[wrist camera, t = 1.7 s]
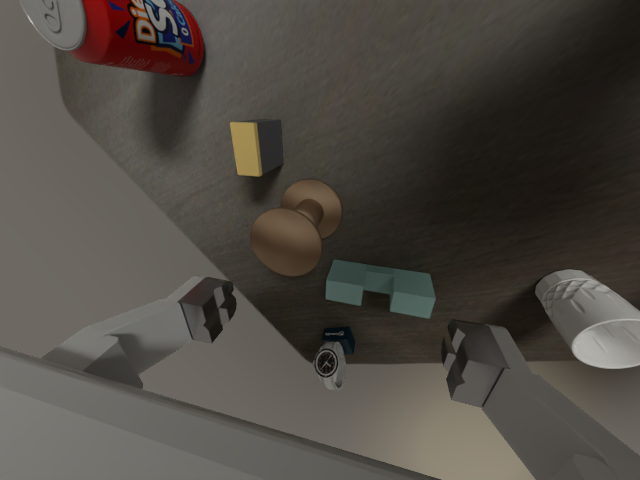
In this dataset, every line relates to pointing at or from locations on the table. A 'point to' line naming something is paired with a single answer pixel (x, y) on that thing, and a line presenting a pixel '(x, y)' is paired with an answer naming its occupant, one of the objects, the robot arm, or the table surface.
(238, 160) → the yellow and black block
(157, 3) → the soda can
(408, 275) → the notch board
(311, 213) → the bobbin
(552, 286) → the white cup
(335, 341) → the watch
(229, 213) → the table surface
